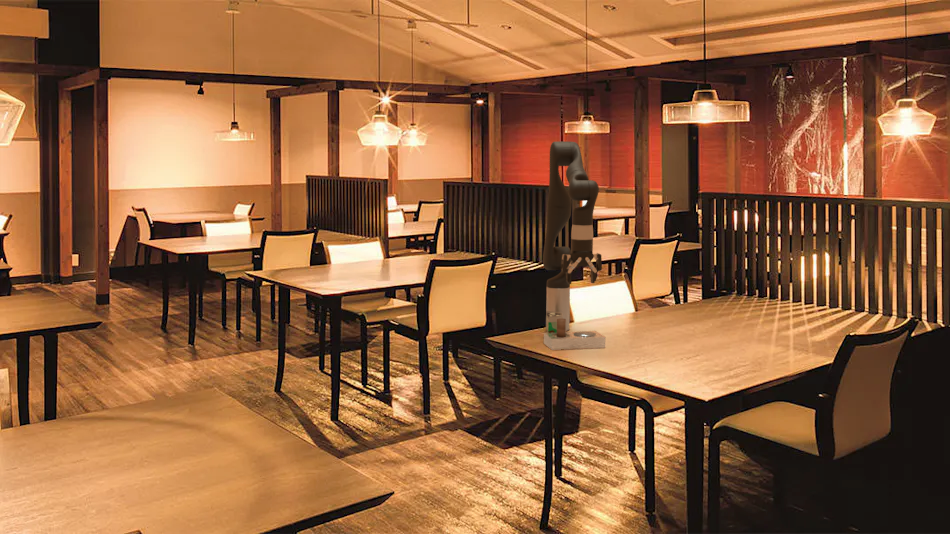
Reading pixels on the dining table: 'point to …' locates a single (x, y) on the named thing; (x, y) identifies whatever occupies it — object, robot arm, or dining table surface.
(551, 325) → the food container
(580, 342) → the bore block
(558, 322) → the brown wooden peg
